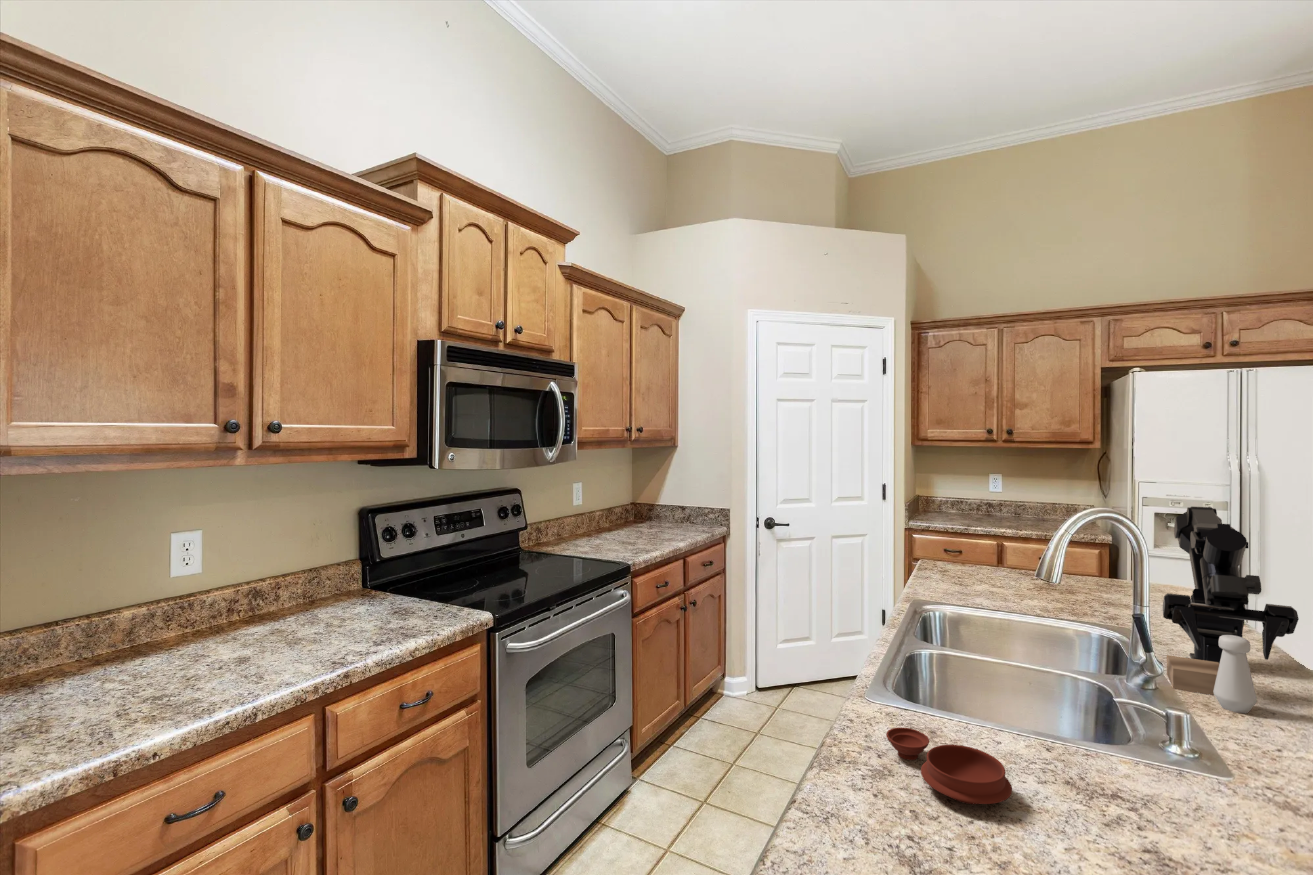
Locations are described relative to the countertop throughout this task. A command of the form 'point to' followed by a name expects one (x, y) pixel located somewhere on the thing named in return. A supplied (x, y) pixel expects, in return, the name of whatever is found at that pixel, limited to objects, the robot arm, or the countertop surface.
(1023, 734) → the countertop surface
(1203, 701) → the countertop surface
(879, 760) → the countertop surface
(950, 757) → the pottery
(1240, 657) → the salt shaker
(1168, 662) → the walnut plinth
